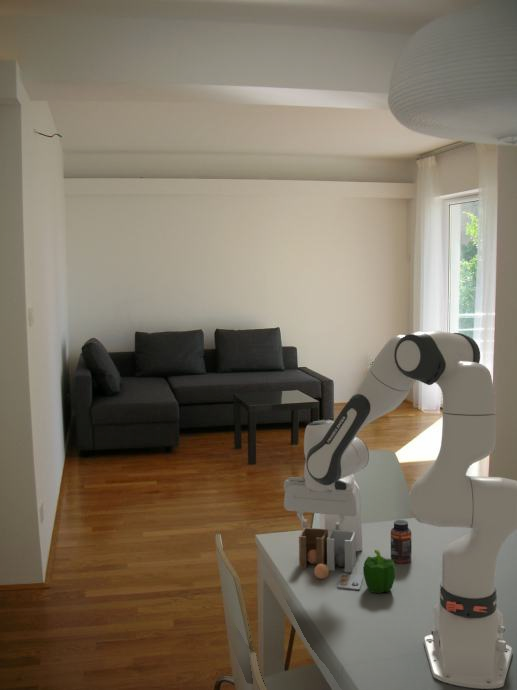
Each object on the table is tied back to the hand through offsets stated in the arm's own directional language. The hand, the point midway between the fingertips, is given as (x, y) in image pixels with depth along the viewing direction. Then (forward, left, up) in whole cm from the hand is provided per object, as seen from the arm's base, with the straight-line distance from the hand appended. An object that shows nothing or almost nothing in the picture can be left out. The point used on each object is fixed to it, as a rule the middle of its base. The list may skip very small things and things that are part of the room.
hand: (321, 527), depth 192 cm
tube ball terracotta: (+8, +4, -14) cm, 17 cm away
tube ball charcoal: (+8, -4, -14) cm, 17 cm away
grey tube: (+8, -4, -14) cm, 17 cm away
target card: (-2, -8, -14) cm, 16 cm away
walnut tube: (+8, +4, -14) cm, 17 cm away
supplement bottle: (+16, -20, -14) cm, 30 cm away
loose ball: (-1, 0, -14) cm, 14 cm away
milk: (+24, -1, -14) cm, 28 cm away
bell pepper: (-4, -16, -14) cm, 22 cm away
